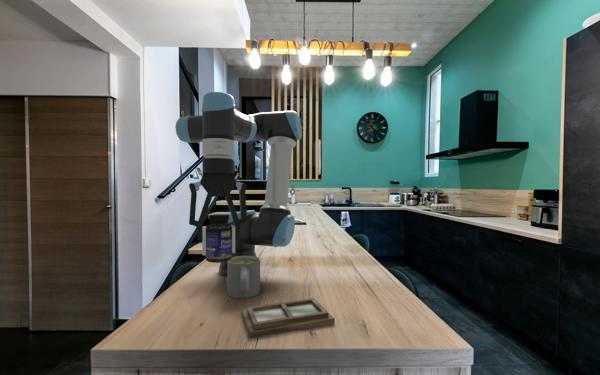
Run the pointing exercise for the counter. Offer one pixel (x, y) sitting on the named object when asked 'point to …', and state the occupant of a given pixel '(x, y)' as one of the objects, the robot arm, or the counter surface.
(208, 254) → the pill bottle
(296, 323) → the divided wooden tray
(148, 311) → the counter surface
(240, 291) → the coffee mug
